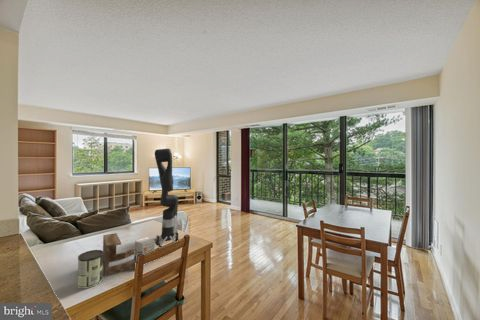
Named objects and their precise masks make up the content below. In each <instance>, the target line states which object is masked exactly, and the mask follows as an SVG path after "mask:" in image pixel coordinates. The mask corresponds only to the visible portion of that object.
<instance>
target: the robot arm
mask: <svg viewBox="0 0 480 320" xmlns="http://www.w3.org/2000/svg"><path fill="white" fill-rule="evenodd" d="M154 158H155V162H156V163H155V164H156V166H157V170H158V175H159V176H158V177H159V182H160V187H161V195H160V199H159V202H160V205H161V206H162V207H166V209H164V210H163V211H162V219H161V234H160V235H155V245H156V246H157V247H158V248H159V247H162V248H163V244H164V243H165V242H169V241H172V243H173V242H174V241H177V240H178V241H179V233H178V231H179V229H178V228H179V225H178V210H179V209H178V207H179V197H178V195H175V194H169V192H172V191H173V190H174V176H173V153H172V150H171V148H159V149H155V151H154ZM163 163H167V166H166V167H165V166H164V164H163Z"/></svg>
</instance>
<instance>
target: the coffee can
mask: <svg viewBox="0 0 480 320" xmlns="http://www.w3.org/2000/svg"><path fill="white" fill-rule="evenodd" d="M77 259H78V260H77V287H78V288H79V289H89V288H92V287H96V286H97V285H99V284H101V282H102V281H103V271H104V267H103V249H102V250H101V249H93V250H88V251H85V252H82V253H80V254H78V256H77Z"/></svg>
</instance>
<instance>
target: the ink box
mask: <svg viewBox="0 0 480 320" xmlns="http://www.w3.org/2000/svg"><path fill="white" fill-rule="evenodd" d="M155 245H156V239H154V238H151V237H149V236H148V237H147V236H146V237H142V238H141V239H136V240H134V249H135V251H134V254H133V255H134V256H133V260H134V261H136V255H137V254H140V253H143V254H146V253H148V252H150V251H152V250H154V251H155V249H156V248H155Z"/></svg>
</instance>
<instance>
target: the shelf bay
mask: <svg viewBox="0 0 480 320" xmlns="http://www.w3.org/2000/svg"><path fill="white" fill-rule="evenodd" d="M102 238H103V239H102V240H103V241H102V251H103V271H104V274H105V276H109V275H113V274H118V273H121V272H125V271H129V270H136V269H135V263H136V262H137V261H129V262H128V261H127V262H124V263H120V264H115V265H112V266H110V265H109V263H110V262H111V263H112V262H115V261H120V260H123V259H127V258H129V257H131V256H133V255H134V253H135V247H132V248H130V249H127V250H126V251H123V252H117V246H122V242H121V239H120V237H119V236H118V233H117V232H115V233H110V234H109V233H108V234H104V235H103V237H102Z"/></svg>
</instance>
